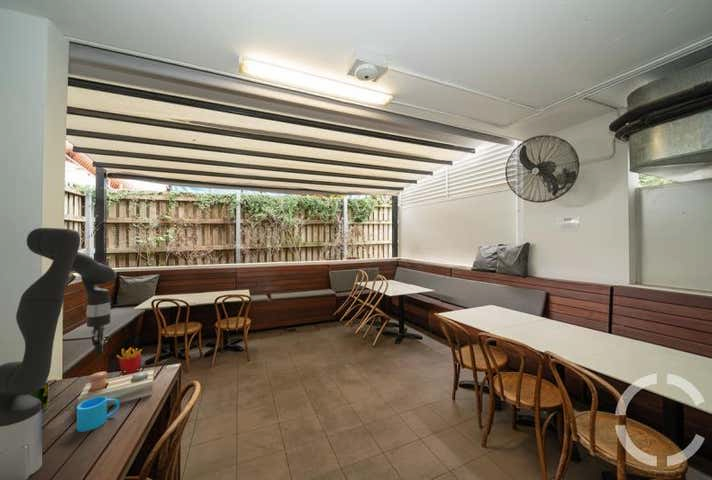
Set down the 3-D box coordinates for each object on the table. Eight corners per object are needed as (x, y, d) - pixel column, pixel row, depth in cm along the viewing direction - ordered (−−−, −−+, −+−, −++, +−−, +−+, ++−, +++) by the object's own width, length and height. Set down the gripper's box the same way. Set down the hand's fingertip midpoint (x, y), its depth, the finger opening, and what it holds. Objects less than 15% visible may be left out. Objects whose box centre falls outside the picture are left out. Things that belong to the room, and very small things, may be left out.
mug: (78, 435, 97) (78, 412, 97) (75, 425, 103) (75, 403, 103) (121, 418, 107) (121, 397, 107) (117, 409, 112) (117, 390, 112)
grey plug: (146, 390, 125) (146, 375, 125) (131, 394, 122) (131, 378, 122) (147, 385, 129) (147, 370, 129) (132, 389, 126) (132, 374, 126)
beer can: (26, 415, 108) (25, 385, 108) (32, 408, 113) (31, 379, 113) (45, 410, 111) (45, 381, 111) (50, 404, 116) (50, 376, 116)
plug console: (152, 394, 123) (152, 381, 123) (78, 413, 109) (77, 399, 109) (153, 381, 134) (153, 369, 134) (86, 397, 121) (86, 383, 121)
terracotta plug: (105, 391, 117) (105, 375, 117) (88, 395, 114) (88, 378, 114) (108, 386, 121) (107, 370, 121) (91, 389, 118) (91, 373, 118)
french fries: (129, 372, 143) (129, 344, 143) (145, 372, 143) (145, 344, 143) (114, 381, 134) (114, 351, 134) (131, 381, 134) (131, 351, 134)
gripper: (107, 315, 114) (107, 357, 114) (113, 309, 125) (113, 346, 125) (82, 318, 110) (82, 361, 110) (90, 311, 121) (90, 350, 121)
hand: (98, 353), depth 118 cm, fingers closed
